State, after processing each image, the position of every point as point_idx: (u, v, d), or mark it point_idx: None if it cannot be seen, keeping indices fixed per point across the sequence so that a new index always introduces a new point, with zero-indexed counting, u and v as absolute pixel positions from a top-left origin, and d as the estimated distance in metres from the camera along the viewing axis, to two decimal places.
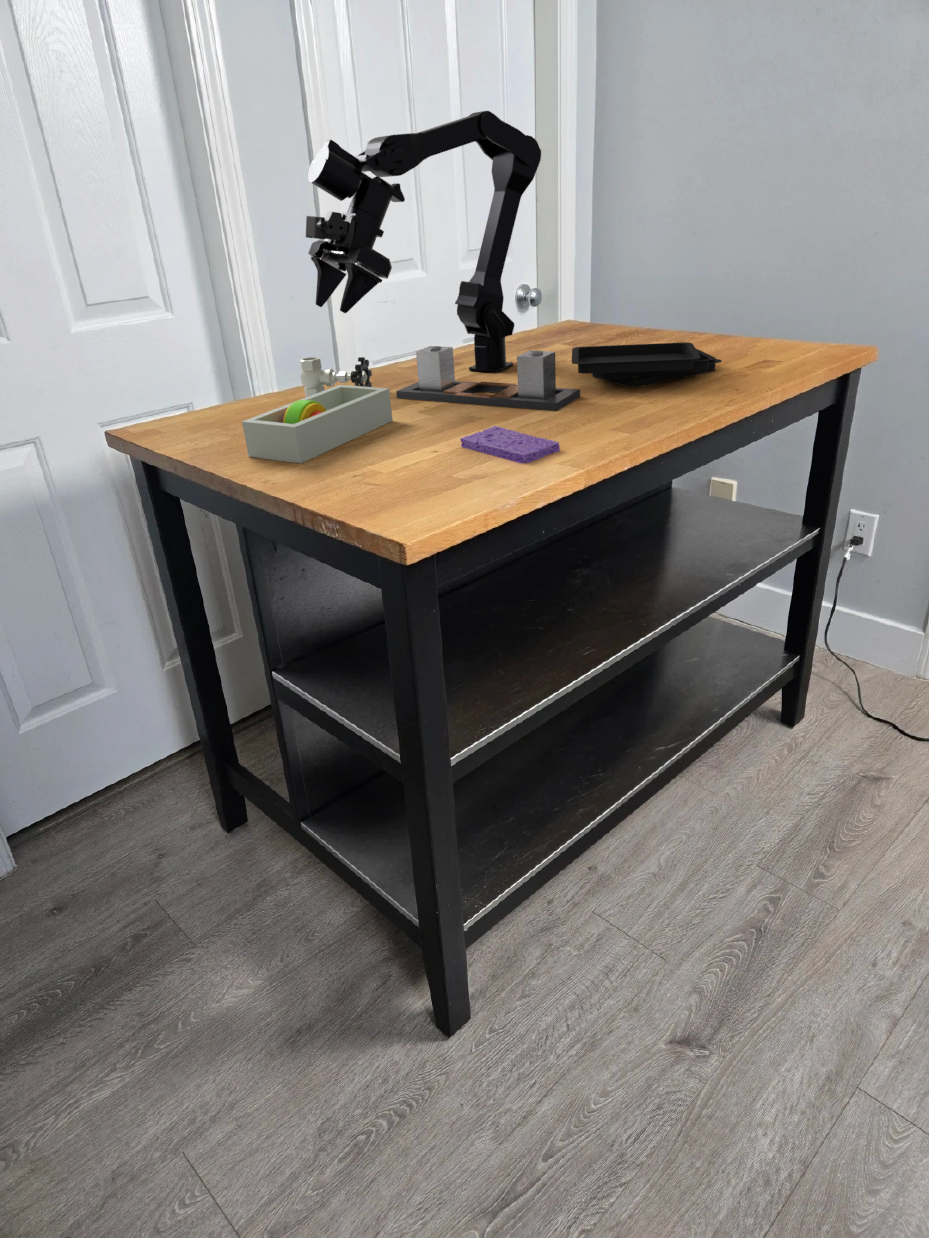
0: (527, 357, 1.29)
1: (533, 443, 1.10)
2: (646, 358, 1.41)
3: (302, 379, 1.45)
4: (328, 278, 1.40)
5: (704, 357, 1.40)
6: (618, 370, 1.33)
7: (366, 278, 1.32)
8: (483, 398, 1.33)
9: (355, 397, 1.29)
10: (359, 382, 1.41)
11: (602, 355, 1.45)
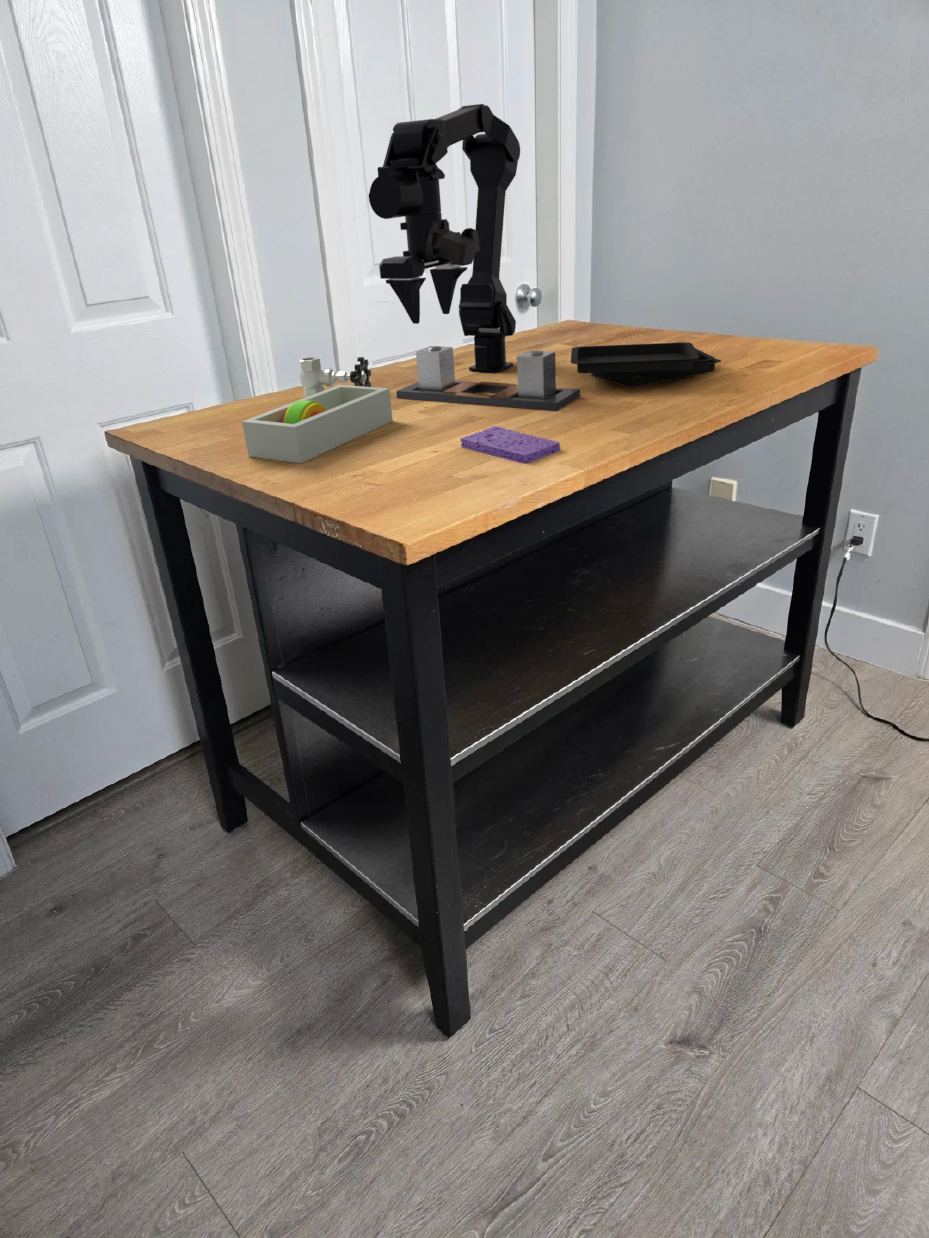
0: (527, 357, 1.29)
1: (533, 443, 1.10)
2: (645, 358, 1.41)
3: (301, 379, 1.45)
4: None
5: (703, 357, 1.40)
6: (617, 370, 1.34)
7: None
8: (483, 398, 1.33)
9: (355, 397, 1.29)
10: (358, 382, 1.41)
11: (602, 355, 1.45)
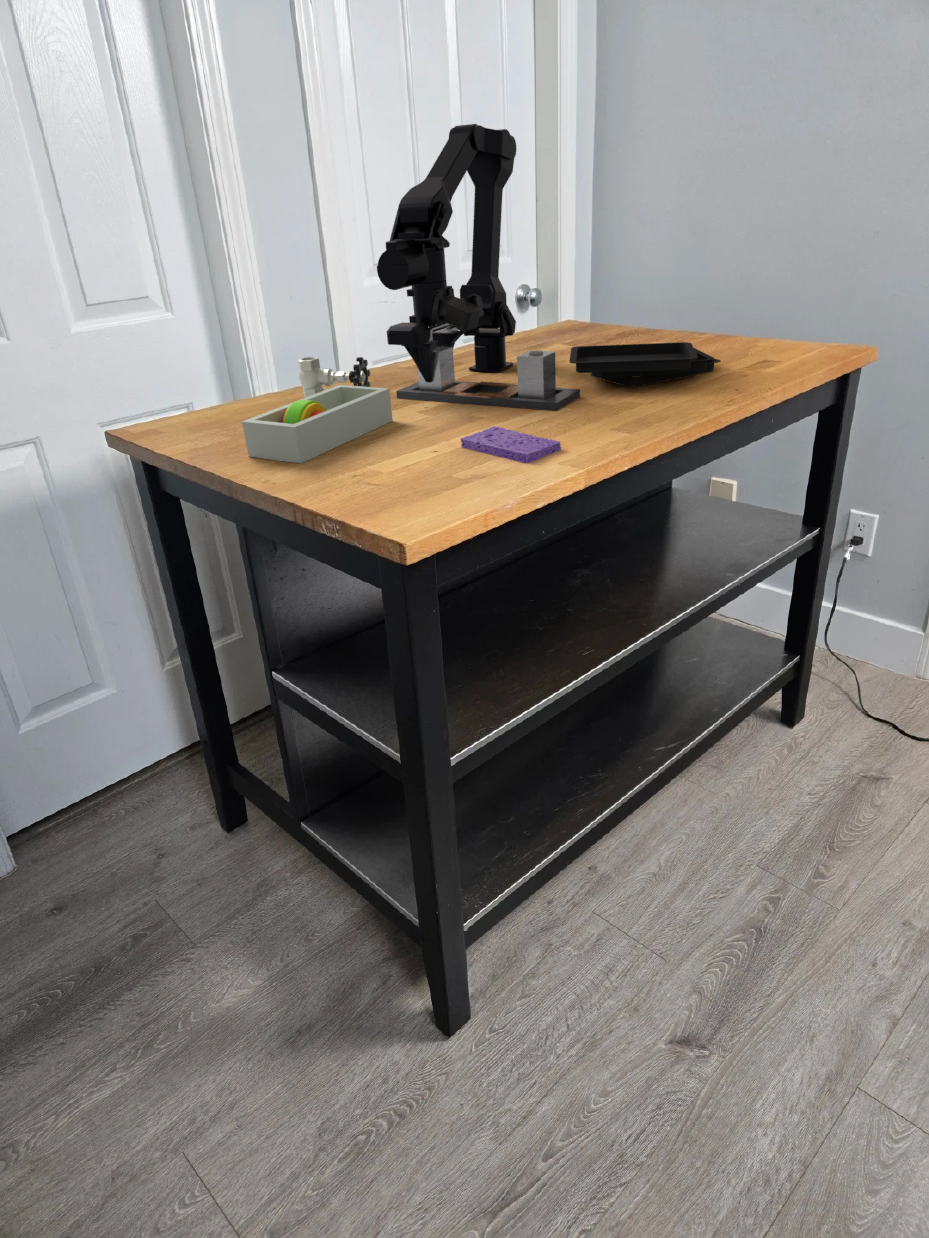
0: (527, 357, 1.29)
1: (534, 442, 1.10)
2: (645, 358, 1.41)
3: (301, 379, 1.45)
4: None
5: (703, 357, 1.40)
6: (616, 369, 1.34)
7: None
8: (483, 398, 1.33)
9: (355, 397, 1.29)
10: (357, 382, 1.41)
11: (601, 355, 1.45)
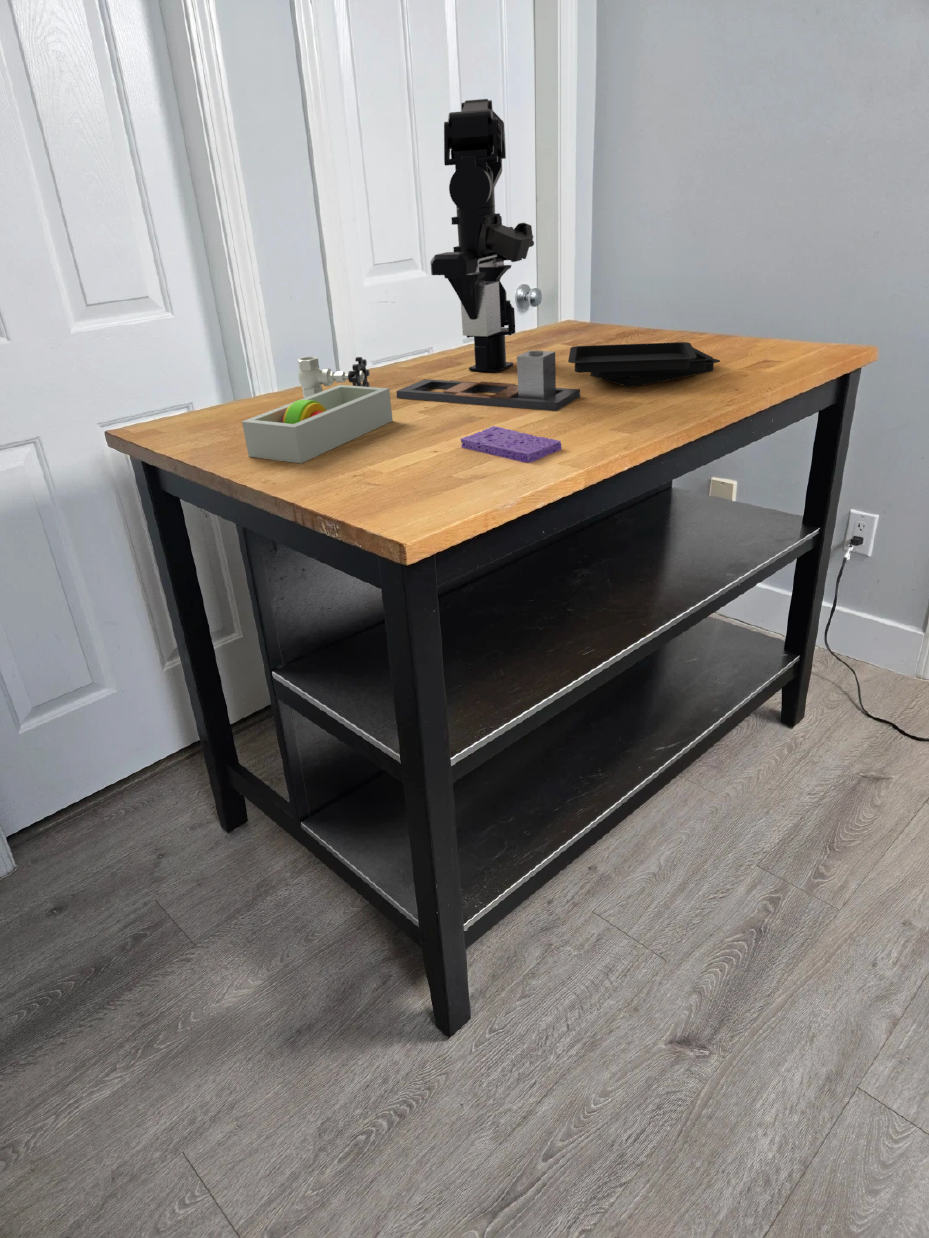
0: (527, 357, 1.29)
1: (535, 442, 1.10)
2: (644, 358, 1.42)
3: (300, 379, 1.45)
4: None
5: (702, 357, 1.40)
6: (614, 369, 1.34)
7: None
8: (483, 398, 1.33)
9: (355, 397, 1.29)
10: (356, 382, 1.41)
11: (600, 354, 1.45)
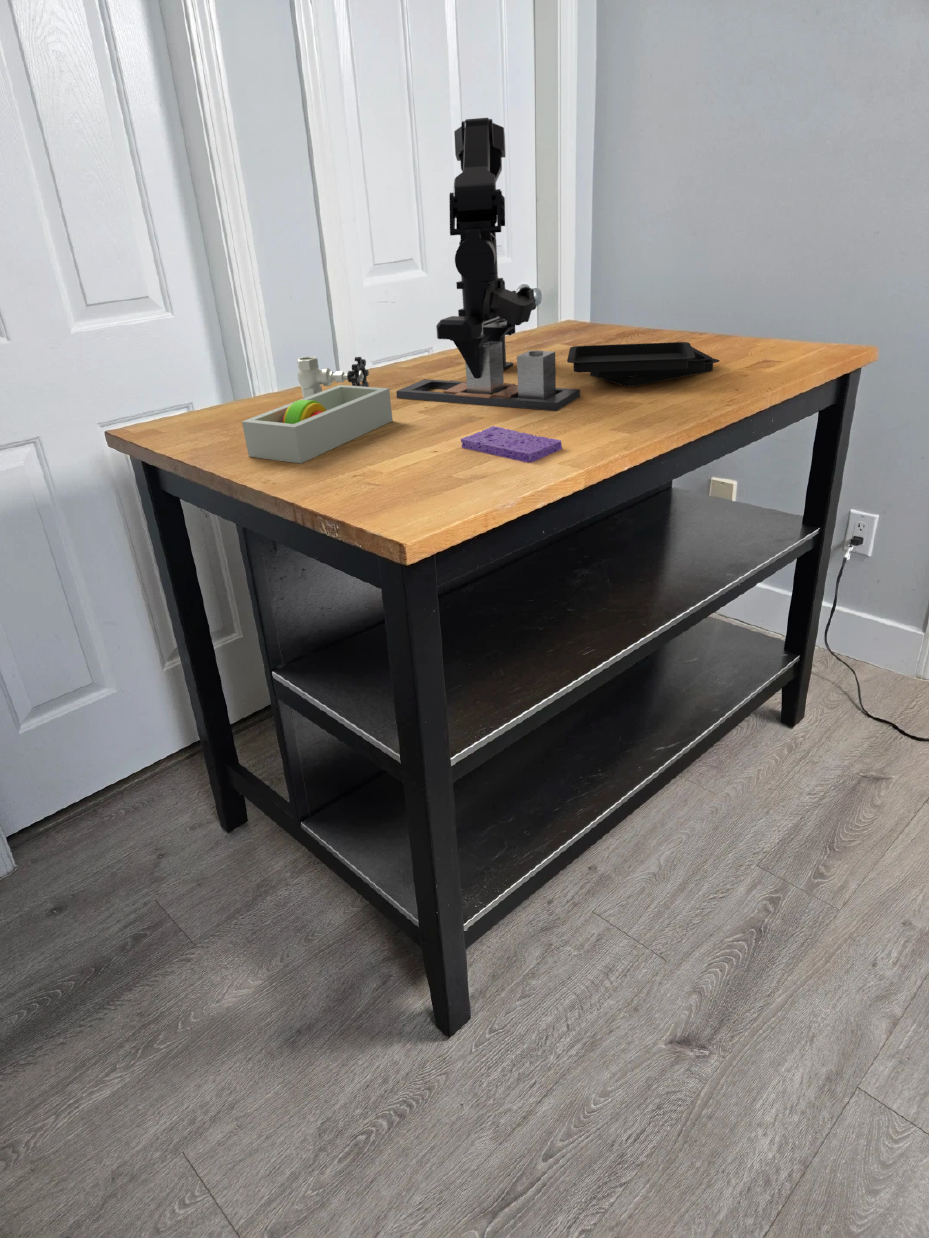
0: (527, 357, 1.29)
1: (535, 442, 1.10)
2: (643, 357, 1.42)
3: (299, 378, 1.45)
4: None
5: (701, 357, 1.40)
6: (613, 369, 1.34)
7: None
8: (483, 398, 1.33)
9: (355, 397, 1.29)
10: (355, 382, 1.42)
11: (600, 354, 1.46)
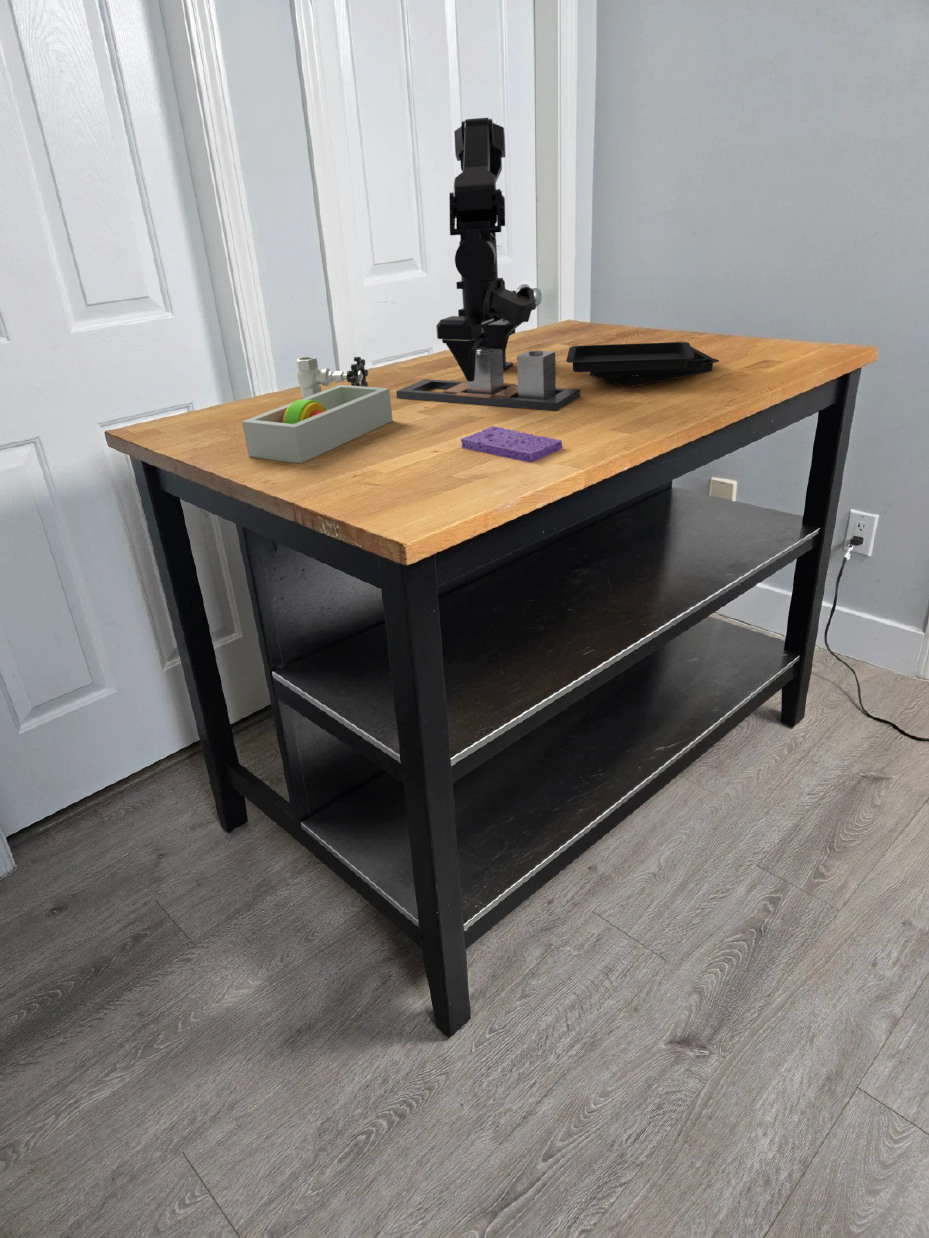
0: (527, 357, 1.29)
1: (536, 442, 1.10)
2: (642, 357, 1.42)
3: (298, 378, 1.45)
4: None
5: (700, 357, 1.40)
6: (612, 369, 1.34)
7: None
8: (483, 398, 1.33)
9: (355, 397, 1.29)
10: (355, 382, 1.42)
11: (599, 354, 1.46)
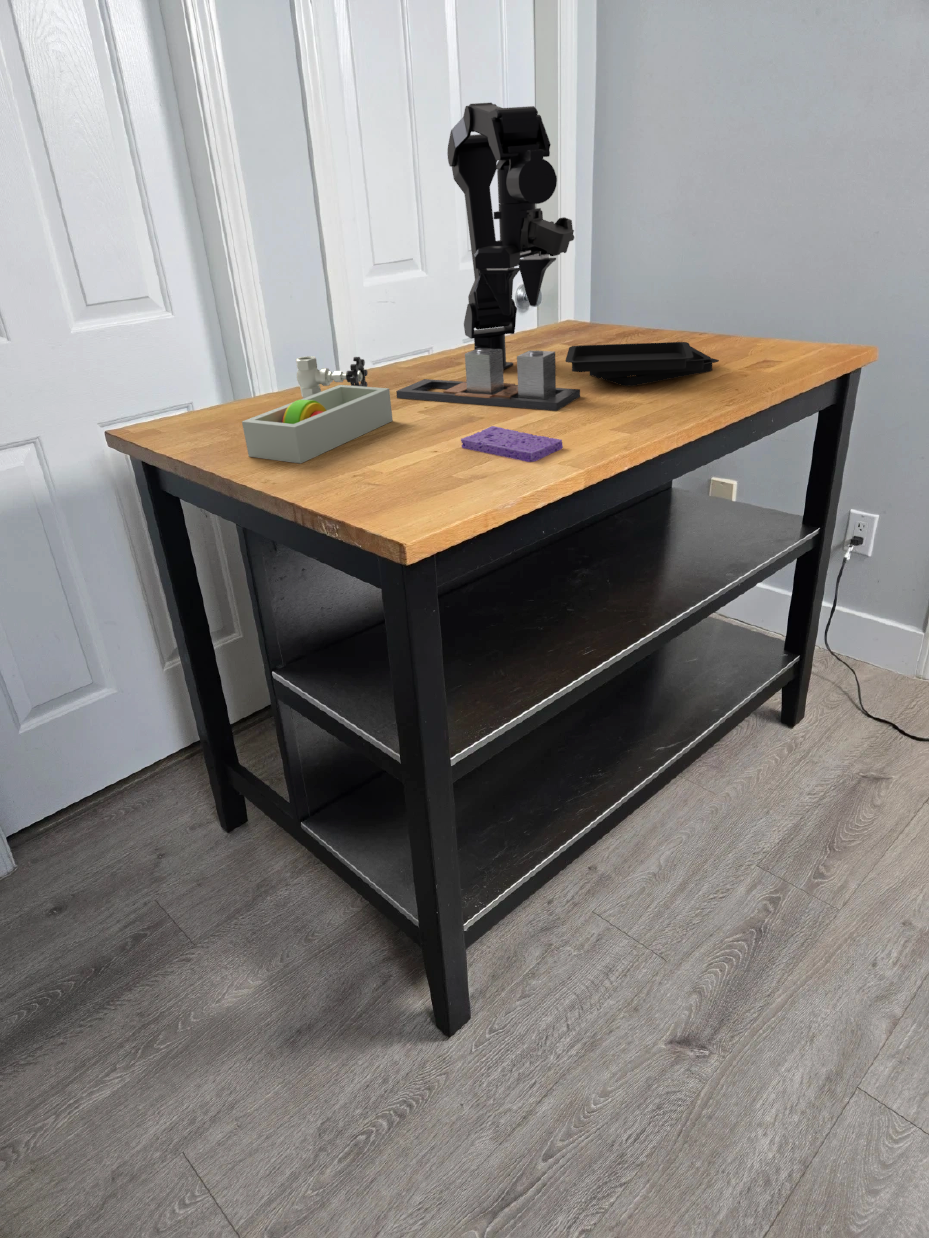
0: (527, 357, 1.29)
1: (536, 441, 1.10)
2: (642, 357, 1.42)
3: (298, 378, 1.45)
4: None
5: (700, 357, 1.40)
6: (611, 369, 1.35)
7: None
8: (483, 398, 1.33)
9: (355, 397, 1.29)
10: (354, 382, 1.42)
11: (599, 354, 1.46)
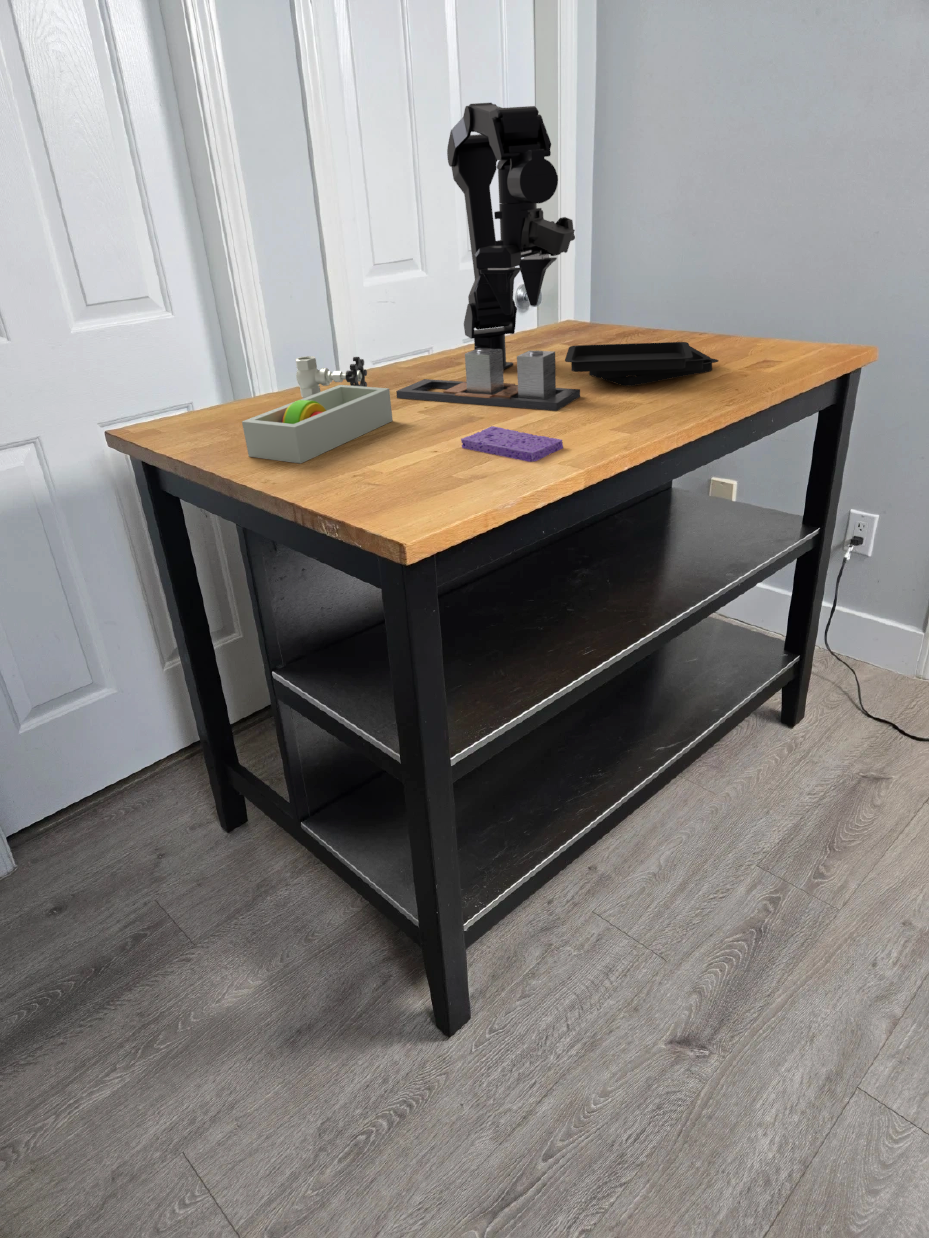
0: (527, 357, 1.29)
1: (536, 441, 1.11)
2: (641, 357, 1.42)
3: (297, 378, 1.45)
4: None
5: (699, 357, 1.40)
6: (610, 369, 1.35)
7: None
8: (483, 398, 1.33)
9: (355, 397, 1.29)
10: (354, 381, 1.42)
11: (599, 354, 1.46)
